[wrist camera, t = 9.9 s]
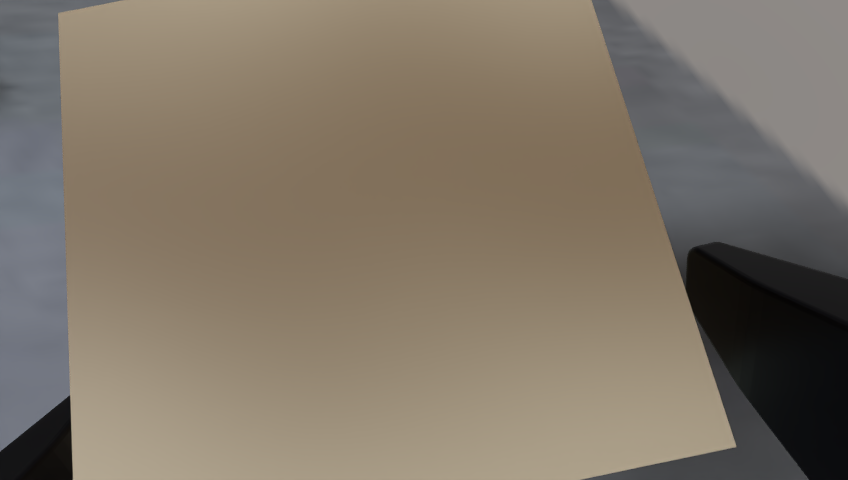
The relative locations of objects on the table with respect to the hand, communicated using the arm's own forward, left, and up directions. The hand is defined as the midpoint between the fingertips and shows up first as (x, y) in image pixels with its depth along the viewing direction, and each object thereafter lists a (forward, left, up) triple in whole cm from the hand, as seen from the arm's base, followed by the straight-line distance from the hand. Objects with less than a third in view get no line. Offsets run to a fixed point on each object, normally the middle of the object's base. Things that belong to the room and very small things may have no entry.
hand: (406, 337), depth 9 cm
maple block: (+1, 0, -9) cm, 9 cm away
